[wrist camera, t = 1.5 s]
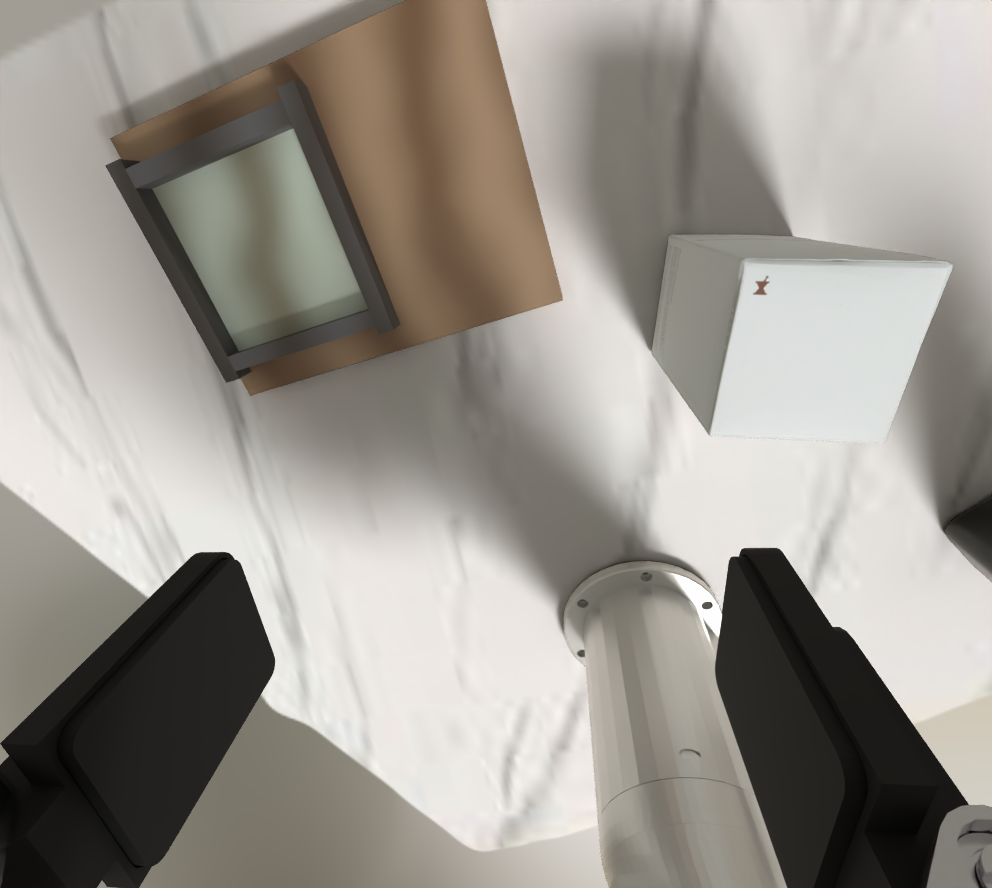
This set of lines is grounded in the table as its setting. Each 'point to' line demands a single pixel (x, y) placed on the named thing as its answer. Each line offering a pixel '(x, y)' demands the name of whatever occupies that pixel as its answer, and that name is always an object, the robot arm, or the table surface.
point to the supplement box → (793, 333)
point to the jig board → (345, 198)
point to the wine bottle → (974, 536)
